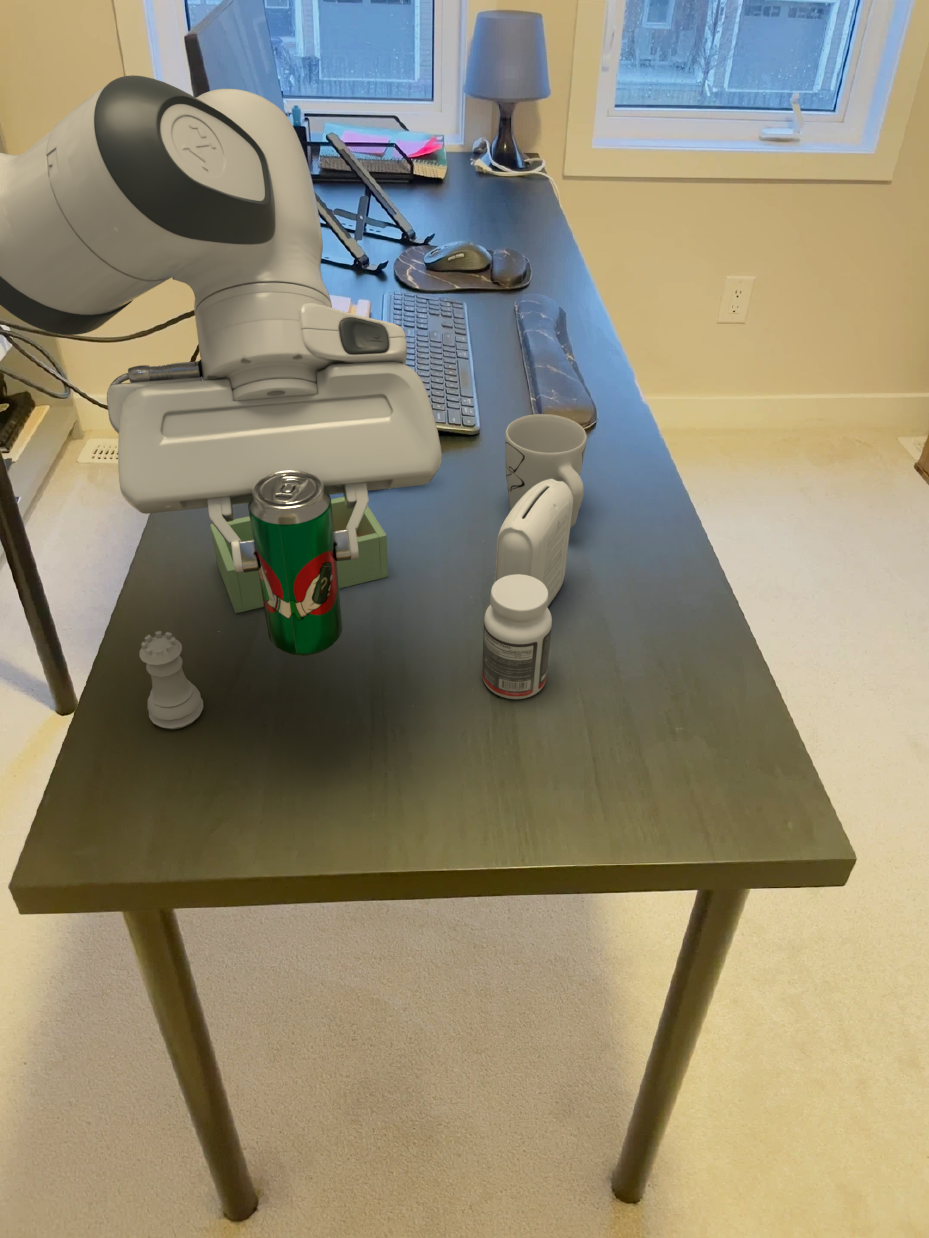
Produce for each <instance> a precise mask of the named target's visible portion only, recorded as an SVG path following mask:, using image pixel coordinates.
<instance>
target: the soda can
mask: <svg viewBox="0 0 929 1238" xmlns="http://www.w3.org/2000/svg"><path fill="white" fill-rule="evenodd" d="M252 495H253V496H252V498H251V499H250V501H249V503H247V504H248V505H247V510H248V516H250V523H251V529H252V535H253V541H254V547H255V554H256V557H257V561H258V568H259V569H258V573H259V579H260V585H261V591H262V598H263V604H264V607H263V609H264V615H265V621H266V628H267V635H268V639H269V641H270V642H271V644H272V645H273V646H275V647H276V648H277V649H279V650H280V651H281V652H284V653H287V654H288V655H293V656H298V657H306V656H313V655H317V654H320V653H323V652H325V651H326V650H328V649H329V648H330V647H332V646H333V645H334V644H335V643H336V642H337V641H338V639H340V636H341V635H342V632H343V619H342V607H341V595H340V588H339V583H338V572H337V561H336V553H335V539H334V526H333V515H332V503H331V499H332V498H331V495H329V494H328V493H327V491H326V490H325V489H324V485H323V483H322V481H321V480H320V479H319V478H318V477H317V476H315V475H313V474H311V473H308V472H304V471H297V470H288V471H280V472H275V473H272V474H269V475H267V476H265V477H263V478H261V479H260V480H258V481H257V482H256V483H255V485H254V487H253V490H252Z"/></svg>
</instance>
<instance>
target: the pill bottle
mask: <svg viewBox="0 0 929 1238" xmlns="http://www.w3.org/2000/svg"><path fill="white" fill-rule="evenodd" d="M547 604H548V590H547V588H546V586H545V585H544V584H543V583H542V582H541V581H540V580H538V579H536V578H534V577H531V576H527V575H520V574H515V575H508V576H505V577H502V578H500V579H499V580H497V581H496V582H495V581H494V583H493V584H492V586H491V589H490V596H489V605H488V606H487V608H486V610H485V613H484V618H483V637H482V639H483V641H482V663H481V665H482V666H481V675H482V676H481V677H482V680H483V683H484V685H485V686H486V688H487V689H488V690H489V691H490V692H492V693H493V694H495V695H497V696H499V697H501V698H504V699H509V700H523V699H527V698H530V697H532V696H535V695H536V694H537V693H539V692H540V691H541V690H542V689H543V688H544V686H545V684H546V682H547V678H548V677H547V676H548V668H549V659H550V647H551V638H552V637H551V636H552V629H553V618H552V614H551V611H550V609H549V608H548V607H547Z"/></svg>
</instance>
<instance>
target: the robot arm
mask: <svg viewBox="0 0 929 1238" xmlns="http://www.w3.org/2000/svg"><path fill="white" fill-rule="evenodd" d="M300 141H301V140H300V138H299V137H298V134H297V131H296V130H295V128H294V125H293V124H292V121H291V120H290V118H288V116H287V115H286V113H284V111H283V110H282V109H281V108H280V107H279V106H277V105H276V104H275V103H273V102H272V101H271V100H268V99H267V98H265V97H263V96H261V95H258V94H256V93H254V92H251V91H247V90H244V89H236V88H218V89H213V90H210V91H207V92H204V93H201V94H200V95H198V96H194V95H192V94H190V93H188V92H186V91H184V90H182V89H180V88H178V87H176V86H174V85H172V84H169V83H167V82H164V81H162V80H160V79H155V78H153V77H149V76H143V75H135V74H134V75H125V76H120V77H117V78H115V79H113V80H111V81H110V82H108V83H107V84H106V85H104V86H103V87H101V88H99V89H98V90H97V91H95V92H94V93H92V94H91V95H90V96H89V97H87V98H86V99H85V100H84V101H82V102H81V103H80V104H78V105H77V106H76V107H75V108H74V109H73V110H72V111H70V112H69V113H68V114H66V115H65V116H64V117H63V118H62V119H61V120H59V122H57V123H56V124H55V125H54V127H53V128H52V129H51V130H50V131H49V132H47V134H45V135H44V136H43V137H41V138H40V139H39V140H37V142H35V143H34V144H33V145H32V146H30V147H29V148H28V149H27V150H25V151H24V152H23V153H22V154H9V153H4V152H0V306H1V307H2V308H3V309H4V310H6V311H7V312H8V313H10V314H11V315H13V316H14V317H15V318H18V319H19V320H21V321H22V322H23V323H26V324H28V325H30V326H31V327H34V328H37V329H39V330H41V331H45V332H48V333H52V334H56V335H65V336H76V335H77V336H78V335H83V334H88V333H91V332H93V331H95V330H97V329H99V328H100V327H102V326H104V325H105V324H106V323H107V322H109V321H110V320H111V319H112V318H114V317H115V316H116V315H117V314H119V313H120V312H121V311H122V310H123V309H125V308H126V307H127V306H129V305H130V304H132V302H133V301H134V300H135V299H138V298H139V297H141V296H142V295H144V294H146V293H148V292H149V291H151V290H152V289H155V288H156V287H157V286H159V285H162V284H163V283H165V282H167V281H168V280H172V281H173V280H174V281H177V282H180V283H183V284H186V285H187V286H188V287H190V289H191V290H192V292H193V296H194V301H193V302H194V303H193V310H194V311H193V313H194V319H195V320H194V321H195V327H196V334H197V341H198V351H199V357H200V359H199V360H195V361H184V362H174V363H173V362H171V363H167V364H162V365H151V366H150V365H148V364H147V365H146V364H143V365H135V366H131V367H128V369H127V372H126V373H123V374H121V375H119V376H117V377H116V378H115V379H113V381H112V382H111V383H110V384H109V386H108V388H107V392H106V405H107V414H108V419H109V423H110V425H111V427H112V429H113V430H114V431H115V432H116V433H117V434H118V441H117V443H118V444H117V453H118V454H117V465H118V466H117V468H118V483H119V489H120V492H121V495H122V497H123V498H124V500H125V501H126V502H127V504H129V505H130V506H132V507H133V508H134V509H135V510H136V511H138V512H139V513H141V514H145V515H147V514H148V515H149V514H159V513H165V512H166V513H169V512H179V511H186V510H197V509H205V508H206V509H208V516H209V517H208V518H209V519H210V521H211V524H213V525H214V526H215V527H216V529H217V530H218V531H219V532H220V534H221V535H222V536H223V538H224V539H225V540H226V541H227V543H228V544H229V545H230V546H231V547H232V554H233V562H234V568H235V572H236V574H237V573H245V572H252V571H258V569H259V568H258V561H257V557H256V554H255V547H254V541H253V540H251V541H241V540H240V538H239V537H238V536H237V534H236V533H235V532H234V530H233V529H232V528H231V527H230V525H229V524H228V523H227V522H229V521H233V520H234V519H235V517H234V516H235V515H234V507H233V506H234V505H236V506H237V505H242V504H249V501H250V499H251V498H252V496H253V495H252V490H253V487H254V485H255V483H256V482H257V481H258V480H260V479H261V478H263V477H265V476H267V475H269V474H272V473H275V472H280V471H288V470H297V471H304V472H308V473H311V474H313V475H315V476H317V477H318V478H319V479H320V480H321V481H322V483H323V485H324V489H325V490H326V491H327V493H328V494H329V495H330V496H332V495H341V494H343V497H344V499H345V505H346V508H347V509H350V508H353V507H354V506H355V507H354V510H353V512H352V515H351V517H350V520H349V522H348V524H347V527H346V529H345V530H340V531H334V539H335V553H336V561H346V560H355V559H358V558H359V550H358V543H357V535H356V532H357V529H358V527H359V524H360V522H361V519H362V517H363V515H364V512H365V510H366V507H367V505H369V501H370V498H369V492H370V491H379V490H388V489H398V488H407V487H417V486H424V485H427V484H429V483H430V482H431V481H432V480H433V479H434V477H435V476H436V474H437V473H438V471H439V469H440V468H441V465H442V461H443V453H442V446H441V442H440V436H439V435H440V434H439V431H438V427H437V422H436V418H435V414H434V411H433V408H432V404H431V400H430V398H429V395H428V391H427V389H426V386H425V384H424V382H423V380H422V378H421V377H420V375H419V374H418V373H417V372H416V371H415V370H414V369H413V368H412V367H410V366H408V365H407V364H406V363H407V357H408V342H407V336H406V333H405V330H404V329H403V328H402V326H400V325H398V324H396V323H393V322H389V321H385V320H381V319H376V318H371V317H368V316H363V315H359V314H354V313H351V312H347V311H344V310H340V309H336V308H334V307H333V305H332V300H331V296H330V294H329V291H328V288H327V287H326V285H325V283H324V278H323V276H322V267H321V263H322V256H323V250H324V244H323V243H324V241H323V234H322V227H321V221H320V214H319V208H318V202H317V198H316V197H317V196H316V192H315V187H314V184H313V179H312V178H313V177H312V175H311V171H310V168H309V167H310V166H309V165H308V160H307V157H306V155H305V154H306V153H305V151H304V148H303V146H302V143H301V142H300ZM126 381H129V382H126ZM368 491H369V492H368Z"/></svg>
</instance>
